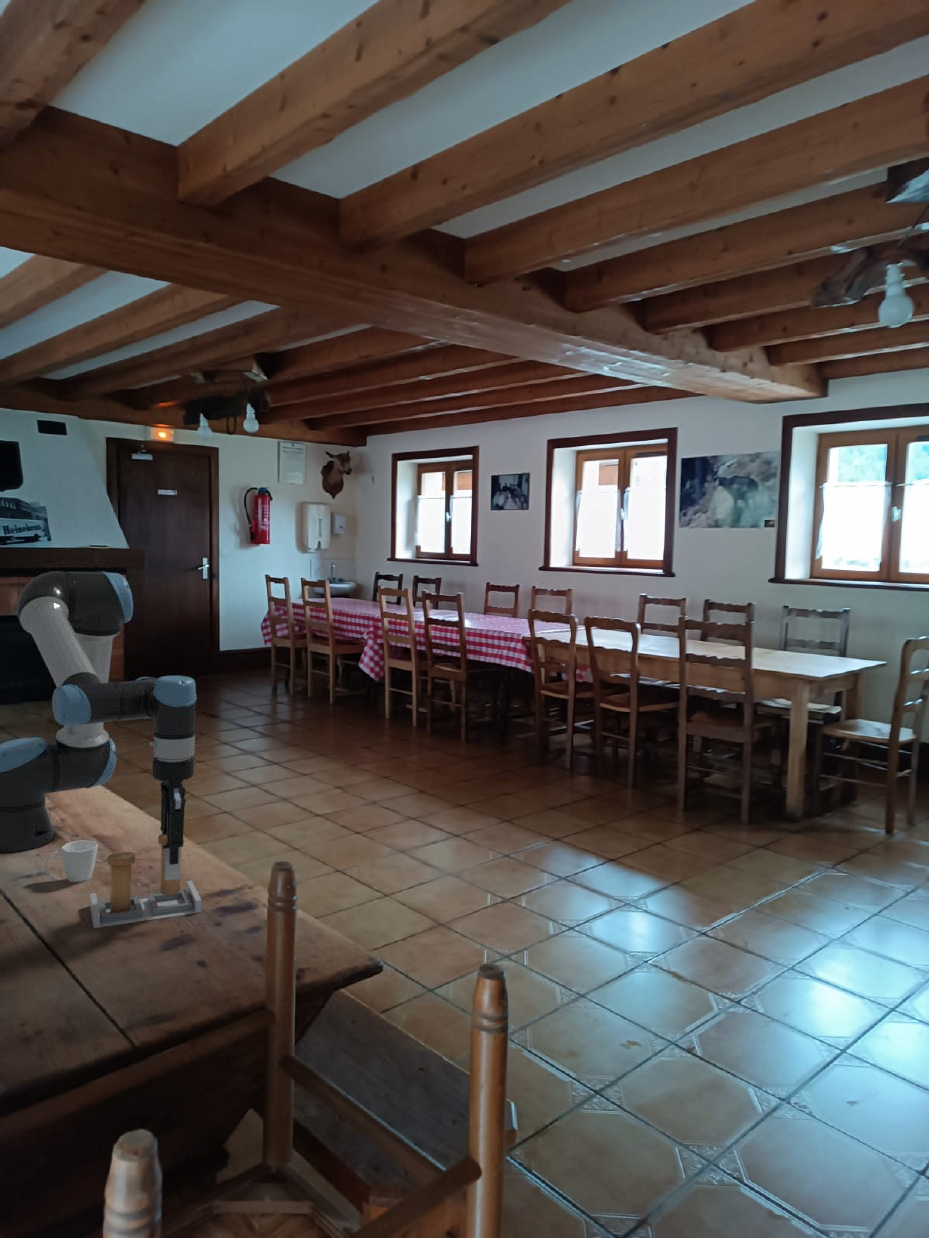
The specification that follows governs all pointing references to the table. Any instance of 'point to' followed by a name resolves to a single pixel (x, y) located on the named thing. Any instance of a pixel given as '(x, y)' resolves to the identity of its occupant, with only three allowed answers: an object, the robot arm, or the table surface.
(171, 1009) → the table surface
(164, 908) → the tray
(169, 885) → the tan ball-headed post
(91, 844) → the cup
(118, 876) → the rounded wooden peg
